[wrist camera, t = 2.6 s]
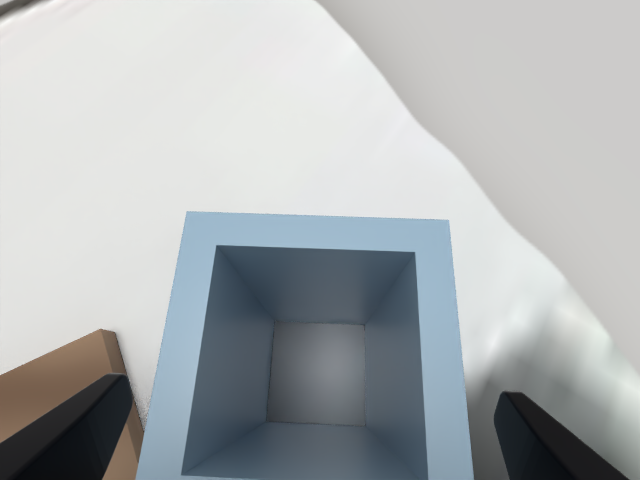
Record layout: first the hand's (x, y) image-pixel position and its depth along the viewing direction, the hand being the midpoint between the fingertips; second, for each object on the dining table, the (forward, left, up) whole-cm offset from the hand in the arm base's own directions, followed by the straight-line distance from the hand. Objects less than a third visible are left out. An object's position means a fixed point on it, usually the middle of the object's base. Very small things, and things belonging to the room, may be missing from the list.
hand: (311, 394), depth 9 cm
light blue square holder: (+1, 0, -8) cm, 9 cm away
